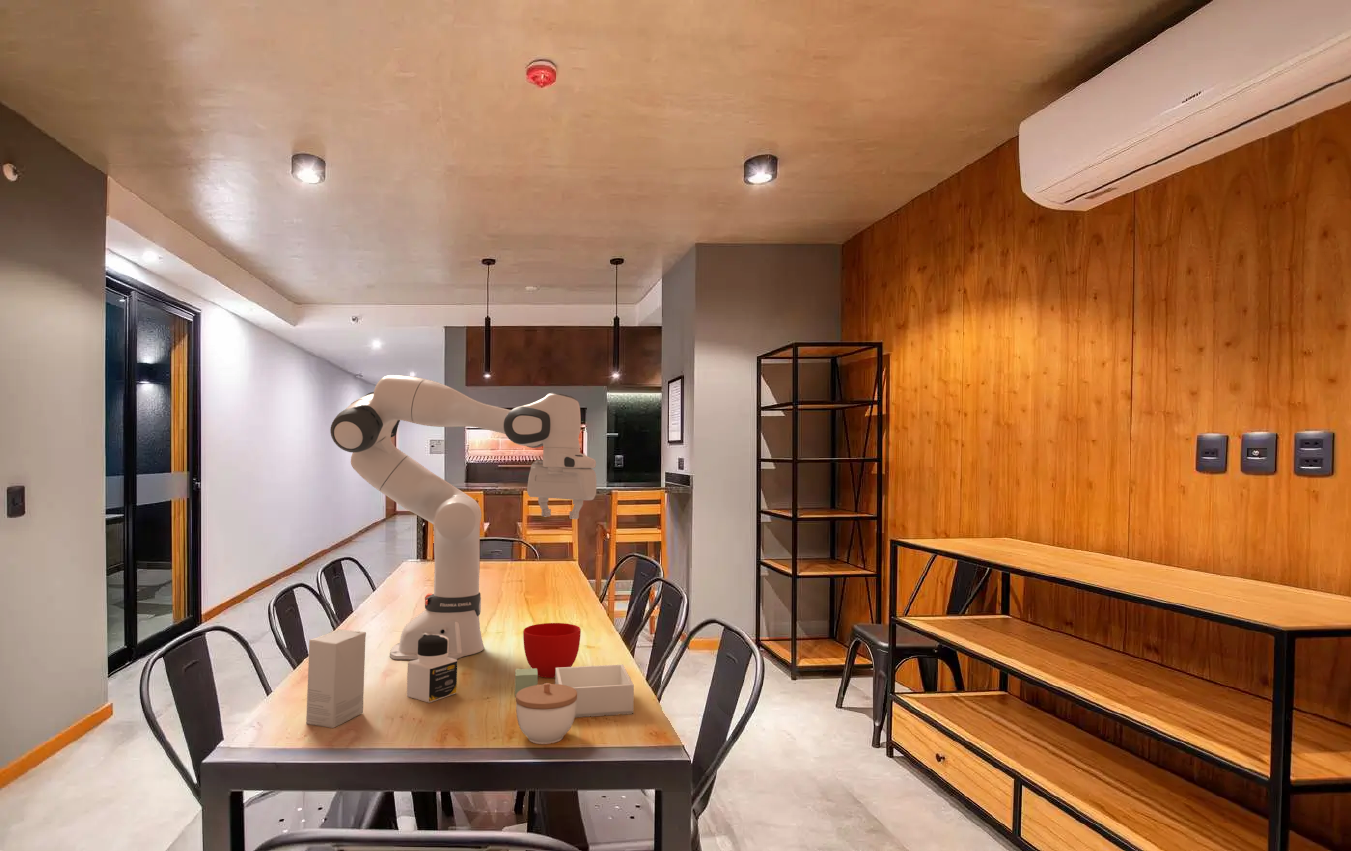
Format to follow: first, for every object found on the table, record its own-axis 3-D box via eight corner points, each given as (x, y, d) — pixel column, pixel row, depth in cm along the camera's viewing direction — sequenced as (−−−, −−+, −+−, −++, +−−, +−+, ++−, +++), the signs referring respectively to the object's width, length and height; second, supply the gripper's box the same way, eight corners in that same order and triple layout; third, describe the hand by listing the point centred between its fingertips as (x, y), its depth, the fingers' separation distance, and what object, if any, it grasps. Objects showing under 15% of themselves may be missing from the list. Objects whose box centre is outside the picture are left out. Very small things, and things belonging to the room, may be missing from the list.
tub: (559, 718, 138) (559, 689, 138) (555, 694, 151) (555, 667, 152) (633, 713, 141) (633, 684, 141) (622, 690, 155) (622, 664, 155)
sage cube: (514, 697, 149) (515, 675, 150) (514, 690, 154) (515, 669, 154) (537, 696, 150) (537, 674, 150) (536, 689, 155) (537, 668, 155)
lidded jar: (525, 724, 134) (526, 673, 134) (582, 727, 133) (583, 675, 134) (506, 748, 123) (507, 692, 124) (568, 751, 122) (569, 695, 123)
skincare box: (337, 709, 141) (340, 628, 141) (366, 713, 139) (368, 631, 139) (303, 724, 133) (307, 638, 133) (333, 729, 131) (336, 641, 131)
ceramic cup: (578, 659, 177) (578, 618, 178) (581, 681, 161) (581, 635, 161) (523, 661, 175) (524, 619, 176) (521, 683, 158) (522, 636, 159)
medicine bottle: (429, 703, 145) (431, 642, 145) (405, 696, 149) (407, 637, 149) (457, 693, 151) (458, 635, 151) (434, 687, 155) (435, 630, 155)
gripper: (522, 459, 179) (520, 515, 179) (582, 460, 167) (581, 521, 166) (541, 459, 184) (539, 514, 184) (601, 461, 172) (599, 519, 172)
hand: (559, 517), depth 175 cm, fingers open, 8 cm apart
